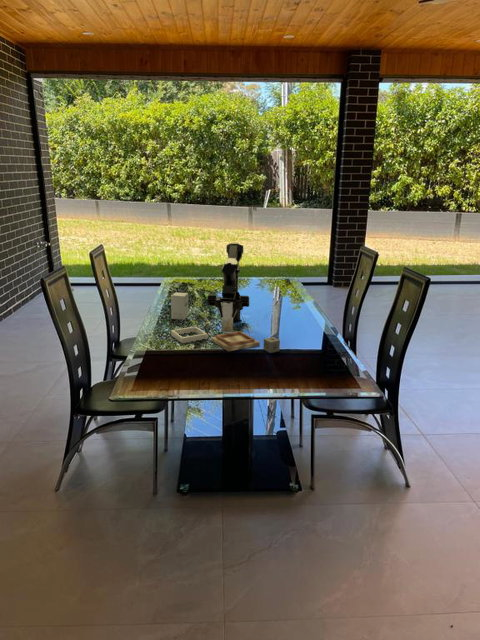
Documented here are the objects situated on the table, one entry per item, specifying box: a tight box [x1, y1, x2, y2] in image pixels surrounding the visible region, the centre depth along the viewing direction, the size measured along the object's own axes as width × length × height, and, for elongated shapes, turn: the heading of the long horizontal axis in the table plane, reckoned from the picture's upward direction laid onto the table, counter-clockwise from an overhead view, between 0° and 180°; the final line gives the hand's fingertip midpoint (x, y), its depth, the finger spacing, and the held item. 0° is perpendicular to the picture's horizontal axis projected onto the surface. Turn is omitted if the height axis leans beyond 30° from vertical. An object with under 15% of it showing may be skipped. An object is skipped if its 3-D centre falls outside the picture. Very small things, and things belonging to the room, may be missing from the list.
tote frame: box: [170, 326, 208, 344], centre depth 236 cm, size 13×13×2 cm
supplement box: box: [170, 292, 189, 321], centre depth 265 cm, size 7×7×13 cm
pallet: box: [211, 331, 261, 352], centre depth 230 cm, size 16×16×3 cm
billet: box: [221, 301, 234, 333], centre depth 227 cm, size 5×5×13 cm
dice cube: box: [263, 336, 281, 354], centre depth 221 cm, size 5×5×5 cm
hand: (227, 317), depth 225 cm, fingers closed on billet, 5 cm apart
